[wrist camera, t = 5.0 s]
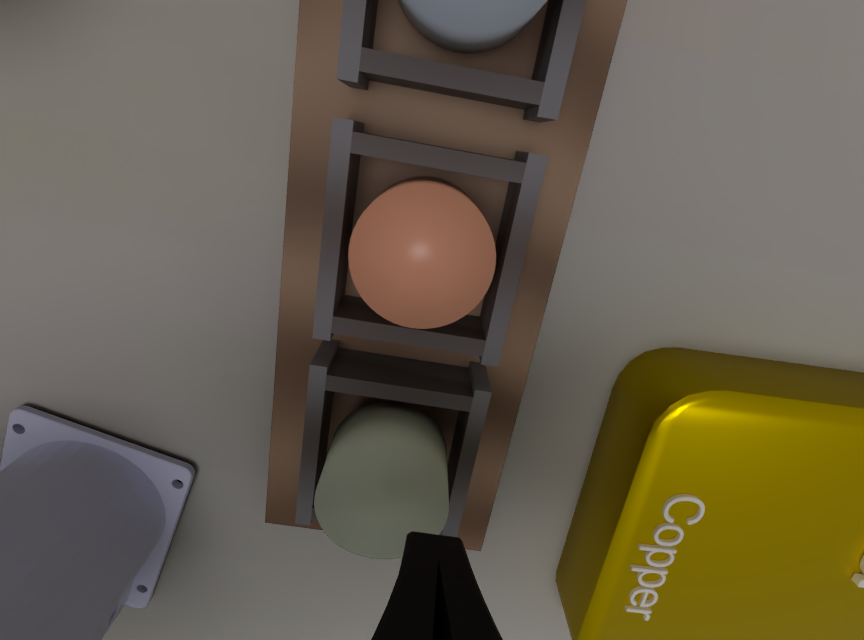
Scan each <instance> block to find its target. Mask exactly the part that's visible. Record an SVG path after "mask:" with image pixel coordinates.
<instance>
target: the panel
mask: <svg viewBox="0 0 864 640" xmlns="http://www.w3.org/2000/svg"><path fill="white" fill-rule="evenodd" d="M626 3H627V0H547V2H546V3H545V4H544V5H543V6H542V8H541V9H540V10H539V11H538V12H537V14H536V15H535V16H534V17H533V18H532V20H531V21H530V22H529V23H528V24H527V25H526V26H525V28H524V29H523V30H522V31H521V32H520V33H519V34H517V35H516V36H515V37H514V38H513V39H511V40H510V41H508V42H507V43H505V44H503V45H501V46H499V47H497V48H495V49H492V50H489V51H486V52H480V53H468V54H465V53H457V52H453V51H449V50H446V49H443V48H441V47H439V46H437V45H435V44H433V43H432V42H430V41H428V40H427V39H426V38H425V37H423V36H422V35H421V34H420V33H419V32H418V31H417V30H416V29H415V28H414V27H413V26H412V24H411V23H410V22H409V20H408V19H407V17H406V16H405V14H404V12H403V10H402V9H401V7H400V5H399V2H398V0H300V3H299V19H298V34H297V49H296V64H295V79H294V94H293V109H292V124H291V139H290V154H289V170H288V185H287V200H286V215H285V230H284V245H283V260H282V275H281V290H280V306H279V321H278V336H277V351H276V366H275V381H274V396H273V411H272V426H271V442H270V457H269V472H268V487H267V502H266V517H265V523H273V524H281V525H288V526H296V527H303V528H311V529H318V530H323V529H322V528H321V526H320V524H319V522H318V520H317V517H316V514H315V508H314V497H315V492H316V488H317V485H318V482H319V479H320V476H321V473H322V470H323V467H324V464H325V461H326V458H327V455H328V452H329V449H330V446H331V443H332V440H333V437H334V434H335V432H336V430H337V428H338V426H339V425H340V423H341V422H342V421H343V420H344V419H345V418H346V417H347V416H348V415H349V414H350V413H352V412H353V411H355V410H357V409H358V408H360V407H363V406H365V405H369V404H372V403H378V402H398V403H403V404H407V405H410V406H412V407H415V408H417V409H419V410H421V411H422V412H424V413H425V414H427V415H428V416H429V417H430V418H431V419H432V420H433V421H434V422H435V423H436V424H437V425H438V427H439V428H440V430H441V432H442V434H443V436H444V439H445V443H446V451H447V473H448V494H449V513H448V518H447V521H446V524H445V526H444V528H443V530H442V531H441V533H440V534H439V535H444V536H451V537H459V538H460V539H461V540H462V541H463V544H464V547H465V549H469V550H476V551H481V548H482V545H483V541H484V537H485V533H486V530H487V526H488V522H489V518H490V515H491V511H492V507H493V503H494V500H495V496H496V492H497V488H498V484H499V481H500V477H501V473H502V469H503V466H504V462H505V458H506V454H507V451H508V447H509V443H510V439H511V436H512V432H513V428H514V424H515V421H516V417H517V413H518V409H519V406H520V402H521V398H522V394H523V390H524V387H525V383H526V379H527V375H528V372H529V368H530V364H531V360H532V357H533V353H534V349H535V345H536V342H537V338H538V334H539V330H540V327H541V323H542V319H543V315H544V311H545V308H546V304H547V300H548V296H549V293H550V289H551V285H552V281H553V278H554V274H555V270H556V266H557V263H558V259H559V255H560V251H561V248H562V244H563V240H564V236H565V233H566V229H567V225H568V221H569V217H570V214H571V210H572V206H573V202H574V199H575V195H576V191H577V187H578V184H579V180H580V176H581V172H582V169H583V165H584V161H585V157H586V154H587V150H588V146H589V142H590V139H591V135H592V131H593V127H594V123H595V120H596V116H597V112H598V108H599V105H600V101H601V97H602V93H603V90H604V86H605V82H606V78H607V75H608V71H609V67H610V63H611V60H612V56H613V52H614V48H615V45H616V41H617V37H618V33H619V29H620V26H621V22H622V18H623V14H624V11H625V7H626ZM417 176H428V177H436V178H440V179H443V180H446V181H448V182H451V183H452V184H454V185H456V186H458V187H459V188H460V189H462V190H463V191H464V192H465V193H466V194H467V195H468V196H469V197H470V198H471V199H472V200H473V202H474V203H475V204H476V206H477V207H478V209H479V210H480V212H481V213H482V215H483V216H484V218H485V220H486V221H487V223H488V225H489V227H490V230H491V232H492V235H493V238H494V242H495V249H496V265H495V272H494V275H493V279H492V282H491V284H490V286H489V289H488V291H487V292H486V294H485V296H484V297H483V299H482V300H481V301H480V302H479V304H478V305H477V306H476V307H475V308H474V309H473V310H472V311H471V312H469V313H468V314H467V315H465V316H464V317H462V318H461V319H459V320H457V321H455V322H453V323H450V324H448V325H445V326H441V327H437V328H430V329H416V328H409V327H404V326H400V325H398V324H395V323H392V322H390V321H388V320H386V319H385V318H383V317H381V316H380V315H378V314H377V313H376V312H375V311H374V310H372V309H371V308H370V307H369V306H368V305H367V304H366V302H365V301H364V300H363V299H362V297H361V296H360V294H359V293H358V291H357V289H356V287H355V285H354V282H353V280H352V277H351V273H350V269H349V260H348V252H349V243H350V238H351V235H352V232H353V229H354V227H355V225H356V223H357V221H358V219H359V218H360V216H361V215H362V213H363V212H364V211H365V210H366V209H367V207H368V206H369V205H370V204H371V203H372V202H373V201H374V200H375V199H376V198H377V197H378V196H379V194H380V193H382V192H383V191H384V190H385V189H386V188H388V187H389V186H391V185H392V184H394V183H396V182H399V181H401V180H404V179H407V178H411V177H417Z"/></svg>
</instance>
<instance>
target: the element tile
mask: <svg viewBox="0 0 864 640" xmlns="http://www.w3.org/2000/svg"><path fill="white" fill-rule="evenodd" d="M556 583H557V587H558V591H559V595H560V599H561V602H562V606H563V609H564V613H565V617H566V620H567V624H568V627H569V631H570V635H571V638H572V640H864V373H861V372H853V371H846V370H839V369H831V368H824V367H817V366H809V365H802V364H795V363H787V362H780V361H773V360H765V359H758V358H751V357H743V356H736V355H728V354H721V353H714V352H706V351H699V350H692V349H684V348H677V347H676V348H660V349H655V350H651V351H647V352H644V353H642V354H641V355H639V356H638V357H636V358H634V359H633V360H631V361H630V362H629V363H628V364H627V365H626V367H625V368H624V369H623V370H622V372H621V373H620V374H619V376H618V378H617V380H616V382H615V384H614V386H613V388H612V392H611V395H610V398H609V401H608V405H607V408H606V411H605V414H604V418H603V421H602V424H601V428H600V431H599V434H598V437H597V441H596V444H595V447H594V450H593V454H592V457H591V460H590V463H589V467H588V470H587V473H586V476H585V480H584V483H583V486H582V489H581V493H580V496H579V499H578V503H577V506H576V509H575V512H574V516H573V519H572V522H571V525H570V529H569V532H568V535H567V538H566V542H565V545H564V548H563V551H562V555H561V558H560V561H559V565H558V568H557V571H556Z"/></svg>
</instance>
